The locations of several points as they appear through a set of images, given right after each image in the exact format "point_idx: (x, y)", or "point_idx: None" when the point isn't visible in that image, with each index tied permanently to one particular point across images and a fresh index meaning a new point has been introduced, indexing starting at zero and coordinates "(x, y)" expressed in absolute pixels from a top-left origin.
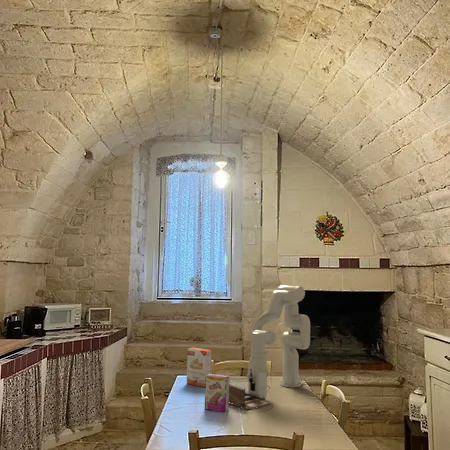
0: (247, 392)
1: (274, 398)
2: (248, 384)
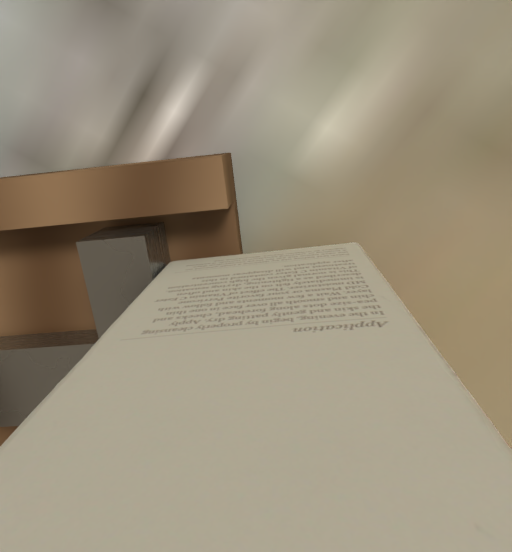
0: (125, 292)
1: (500, 424)
2: (97, 342)
